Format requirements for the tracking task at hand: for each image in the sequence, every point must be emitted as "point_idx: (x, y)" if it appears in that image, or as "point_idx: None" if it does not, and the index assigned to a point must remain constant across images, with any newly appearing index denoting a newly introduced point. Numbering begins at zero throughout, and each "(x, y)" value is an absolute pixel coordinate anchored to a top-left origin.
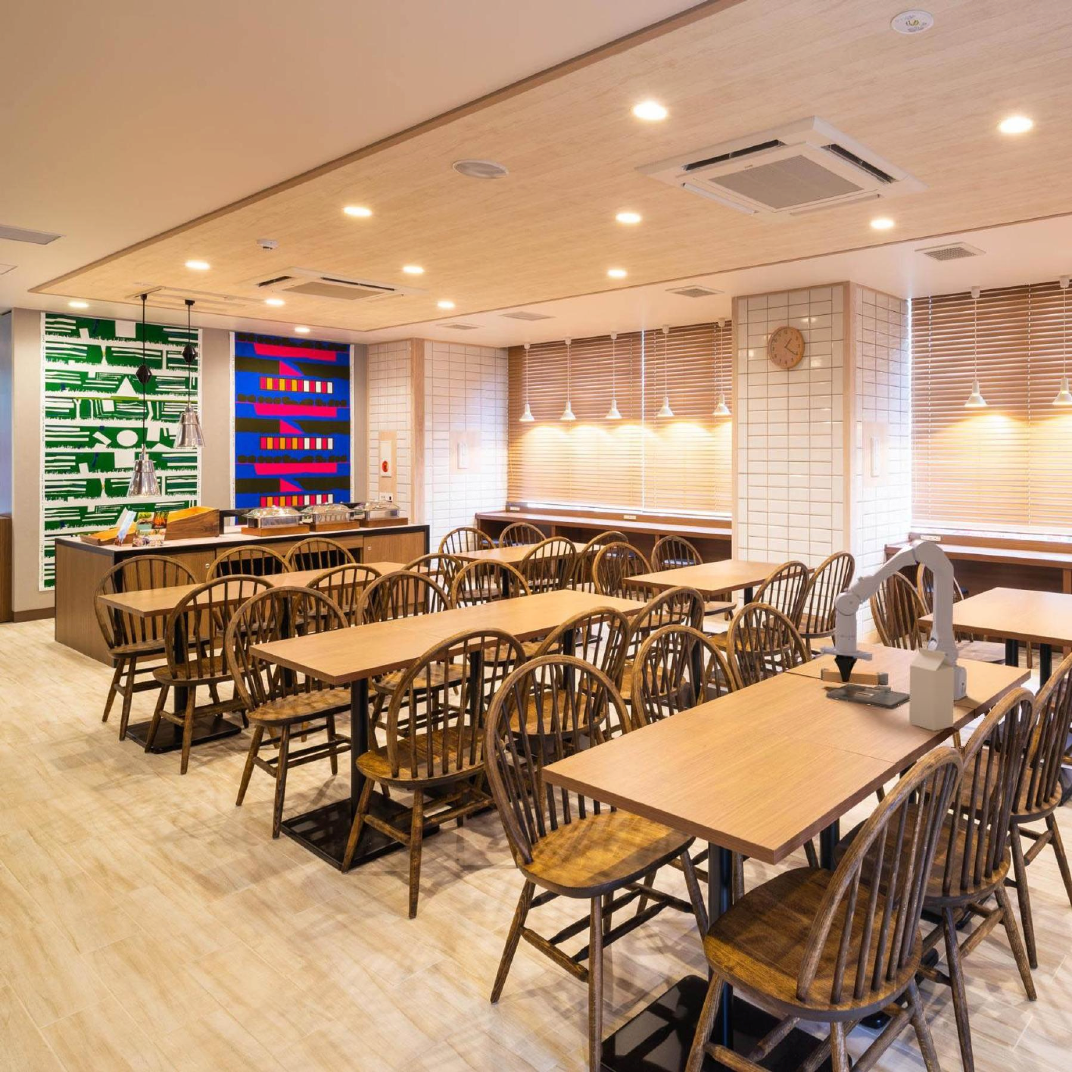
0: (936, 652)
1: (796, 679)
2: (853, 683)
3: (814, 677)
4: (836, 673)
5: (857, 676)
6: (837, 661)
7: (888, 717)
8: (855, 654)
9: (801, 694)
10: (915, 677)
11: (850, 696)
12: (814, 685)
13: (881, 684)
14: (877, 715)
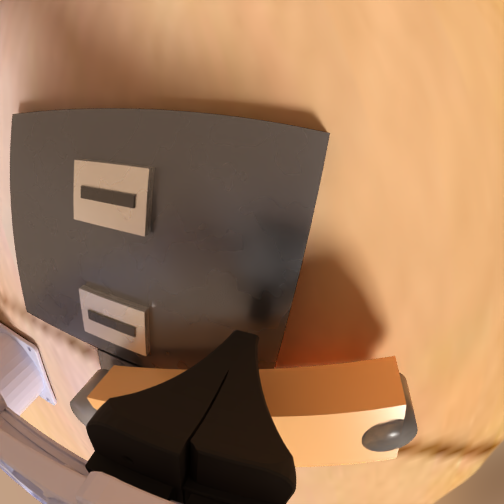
0: None
1: (492, 400)
2: None
3: (420, 450)
4: (307, 408)
5: None
6: (253, 446)
7: (25, 14)
8: (14, 451)
9: (474, 130)
10: None
11: (166, 140)
12: (430, 357)
13: (105, 372)
14: (49, 2)
